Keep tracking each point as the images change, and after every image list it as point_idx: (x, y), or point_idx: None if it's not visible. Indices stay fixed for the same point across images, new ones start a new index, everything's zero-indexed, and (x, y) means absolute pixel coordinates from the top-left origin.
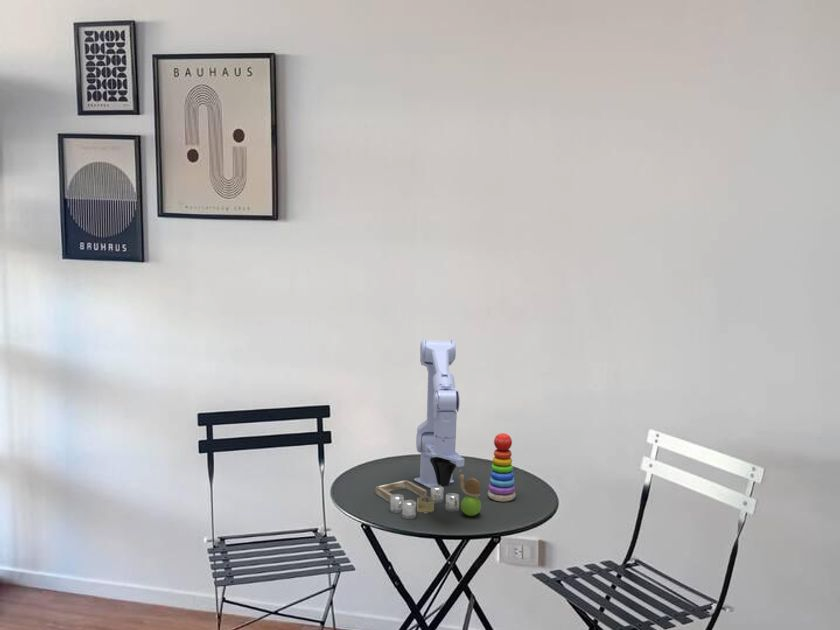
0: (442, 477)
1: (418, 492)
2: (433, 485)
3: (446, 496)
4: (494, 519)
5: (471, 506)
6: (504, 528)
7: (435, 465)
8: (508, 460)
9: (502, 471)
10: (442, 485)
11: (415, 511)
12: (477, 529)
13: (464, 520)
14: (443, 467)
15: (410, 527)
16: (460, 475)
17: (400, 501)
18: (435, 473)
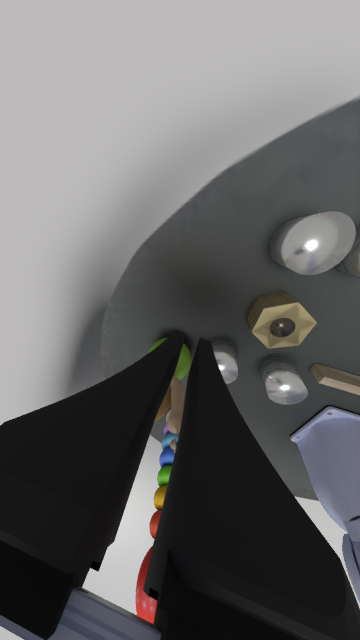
0: (146, 355)
1: (343, 375)
2: (304, 398)
3: (230, 361)
4: (136, 352)
5: (152, 349)
6: (102, 334)
7: (195, 453)
8: (154, 504)
9: (165, 469)
10: (172, 333)
11: (275, 255)
12: (120, 302)
13: (165, 320)
14: (19, 420)
15: (238, 172)
16: (174, 427)
17: None
18: (221, 382)
